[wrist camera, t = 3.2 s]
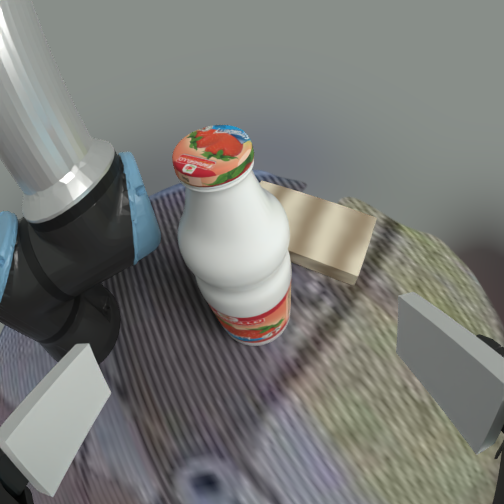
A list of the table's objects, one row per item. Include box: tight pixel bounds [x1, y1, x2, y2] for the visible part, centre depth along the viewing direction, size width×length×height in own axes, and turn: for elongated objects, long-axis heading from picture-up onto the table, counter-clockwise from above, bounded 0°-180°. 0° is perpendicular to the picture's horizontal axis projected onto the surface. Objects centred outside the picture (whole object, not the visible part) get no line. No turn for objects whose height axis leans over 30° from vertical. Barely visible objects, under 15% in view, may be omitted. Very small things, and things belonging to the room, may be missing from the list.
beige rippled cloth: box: [260, 181, 376, 286], centre depth 45 cm, size 20×11×3 cm, turn 63°
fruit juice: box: [172, 125, 292, 346], centre depth 28 cm, size 9×9×28 cm
